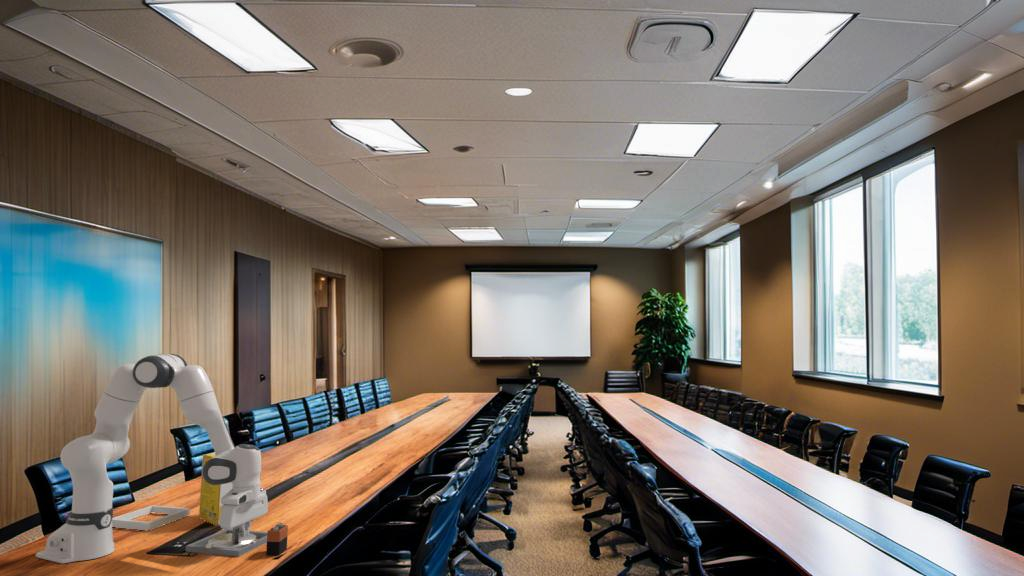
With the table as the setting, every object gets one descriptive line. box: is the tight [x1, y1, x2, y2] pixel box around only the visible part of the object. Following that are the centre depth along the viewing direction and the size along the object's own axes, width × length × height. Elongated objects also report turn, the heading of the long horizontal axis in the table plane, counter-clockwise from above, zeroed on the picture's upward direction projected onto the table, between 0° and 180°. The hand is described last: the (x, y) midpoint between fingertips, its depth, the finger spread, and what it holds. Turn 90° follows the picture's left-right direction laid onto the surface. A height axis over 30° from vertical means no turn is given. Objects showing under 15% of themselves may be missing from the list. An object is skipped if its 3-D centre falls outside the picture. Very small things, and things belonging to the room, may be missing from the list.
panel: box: [185, 528, 267, 558], centre depth 207 cm, size 20×20×4 cm
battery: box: [265, 522, 289, 560], centre depth 200 cm, size 4×7×10 cm, turn 178°
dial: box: [208, 526, 257, 549], centre depth 207 cm, size 15×15×7 cm
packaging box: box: [198, 452, 263, 527], centre depth 243 cm, size 16×16×25 cm
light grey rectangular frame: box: [111, 505, 191, 531], centre depth 236 cm, size 18×21×3 cm
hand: (244, 535), depth 204 cm, fingers closed
